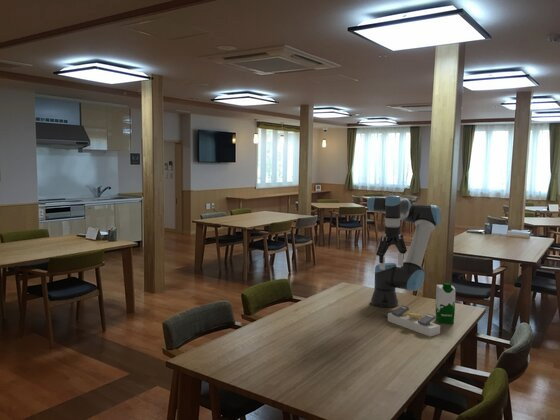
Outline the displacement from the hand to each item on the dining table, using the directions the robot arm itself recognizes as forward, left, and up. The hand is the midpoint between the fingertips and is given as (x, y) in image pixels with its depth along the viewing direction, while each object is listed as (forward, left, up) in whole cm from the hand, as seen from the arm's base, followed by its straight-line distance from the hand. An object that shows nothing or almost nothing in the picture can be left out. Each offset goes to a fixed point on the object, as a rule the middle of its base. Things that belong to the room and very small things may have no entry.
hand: (391, 267), depth 238 cm
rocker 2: (+1, +16, -21) cm, 26 cm away
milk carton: (-20, +19, -27) cm, 38 cm away
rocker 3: (+1, +24, -21) cm, 31 cm away
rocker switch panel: (+1, +12, -27) cm, 29 cm away
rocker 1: (+1, +8, -21) cm, 22 cm away
